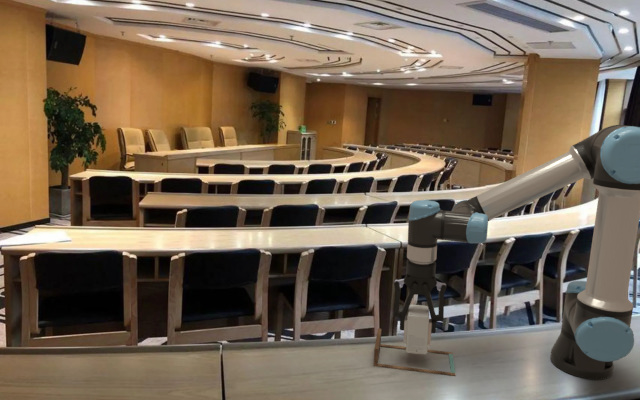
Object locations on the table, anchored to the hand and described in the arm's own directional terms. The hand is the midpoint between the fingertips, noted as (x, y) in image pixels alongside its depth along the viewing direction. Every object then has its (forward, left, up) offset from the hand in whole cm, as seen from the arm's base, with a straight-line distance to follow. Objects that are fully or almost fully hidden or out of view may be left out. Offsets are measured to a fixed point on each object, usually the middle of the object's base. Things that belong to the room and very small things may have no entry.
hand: (416, 342), depth 135 cm
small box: (0, 0, -2) cm, 2 cm away
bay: (0, 0, -5) cm, 5 cm away
